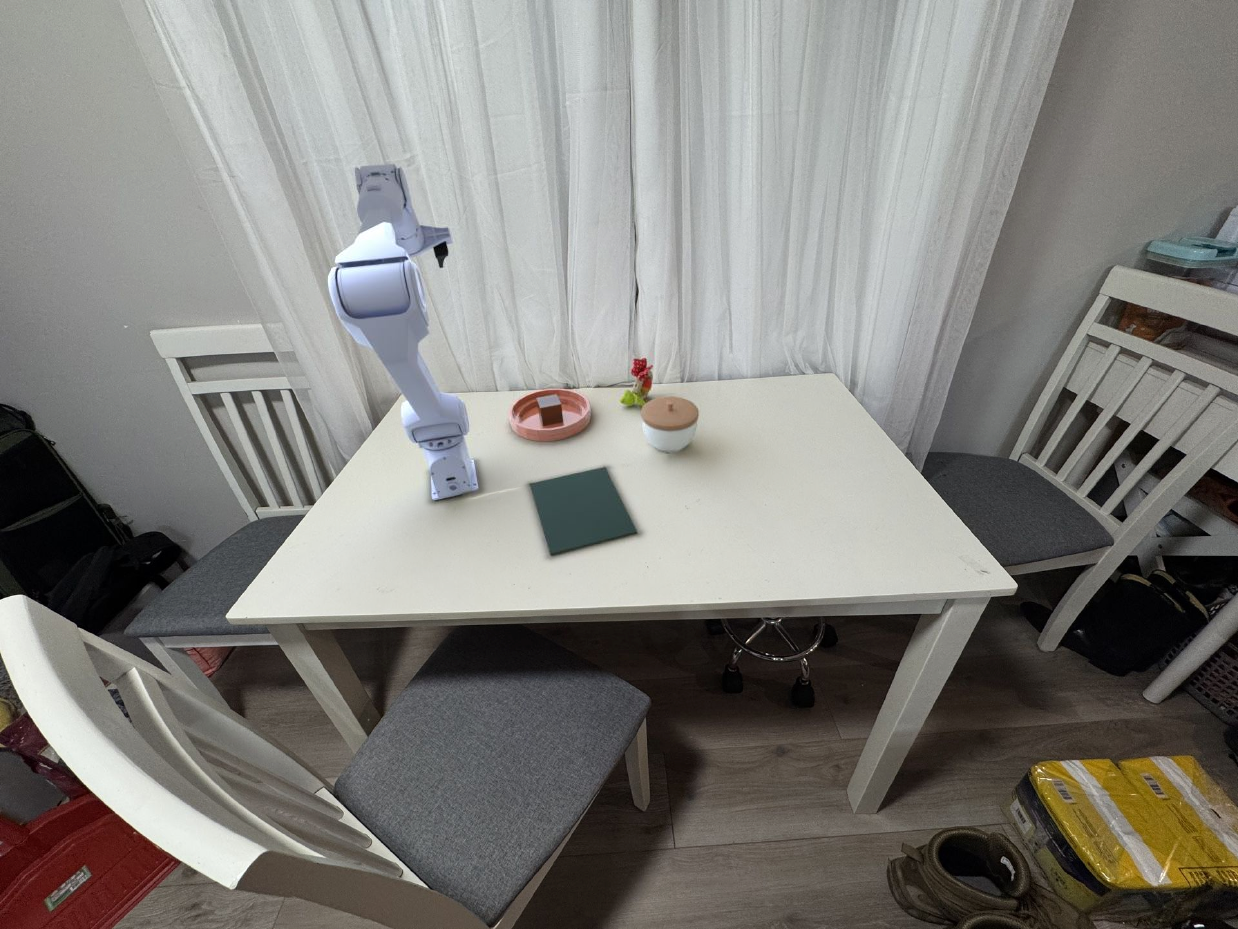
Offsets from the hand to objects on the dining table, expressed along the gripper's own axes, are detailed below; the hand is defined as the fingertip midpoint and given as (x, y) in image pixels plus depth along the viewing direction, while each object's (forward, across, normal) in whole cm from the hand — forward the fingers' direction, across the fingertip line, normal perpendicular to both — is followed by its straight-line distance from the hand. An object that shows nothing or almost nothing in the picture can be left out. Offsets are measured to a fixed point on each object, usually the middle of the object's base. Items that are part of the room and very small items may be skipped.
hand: (420, 266), depth 99 cm
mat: (-9, -17, +53) cm, 56 cm away
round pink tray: (+12, -17, +33) cm, 39 cm away
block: (+11, -17, +32) cm, 38 cm away
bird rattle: (+13, -37, +33) cm, 52 cm away
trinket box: (+1, -38, +45) cm, 59 cm away
